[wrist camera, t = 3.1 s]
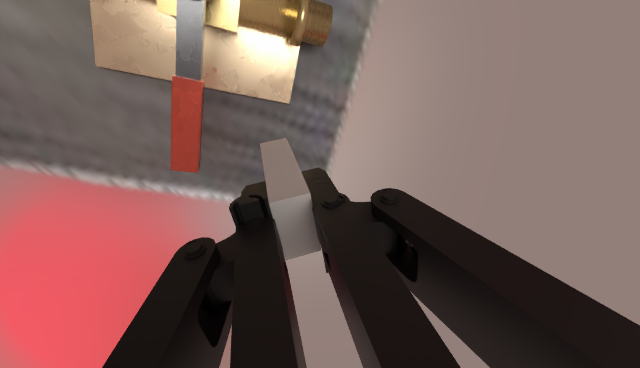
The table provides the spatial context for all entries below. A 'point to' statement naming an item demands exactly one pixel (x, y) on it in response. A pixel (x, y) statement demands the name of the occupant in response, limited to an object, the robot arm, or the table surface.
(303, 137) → the table surface
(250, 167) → the table surface
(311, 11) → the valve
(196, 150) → the lever
